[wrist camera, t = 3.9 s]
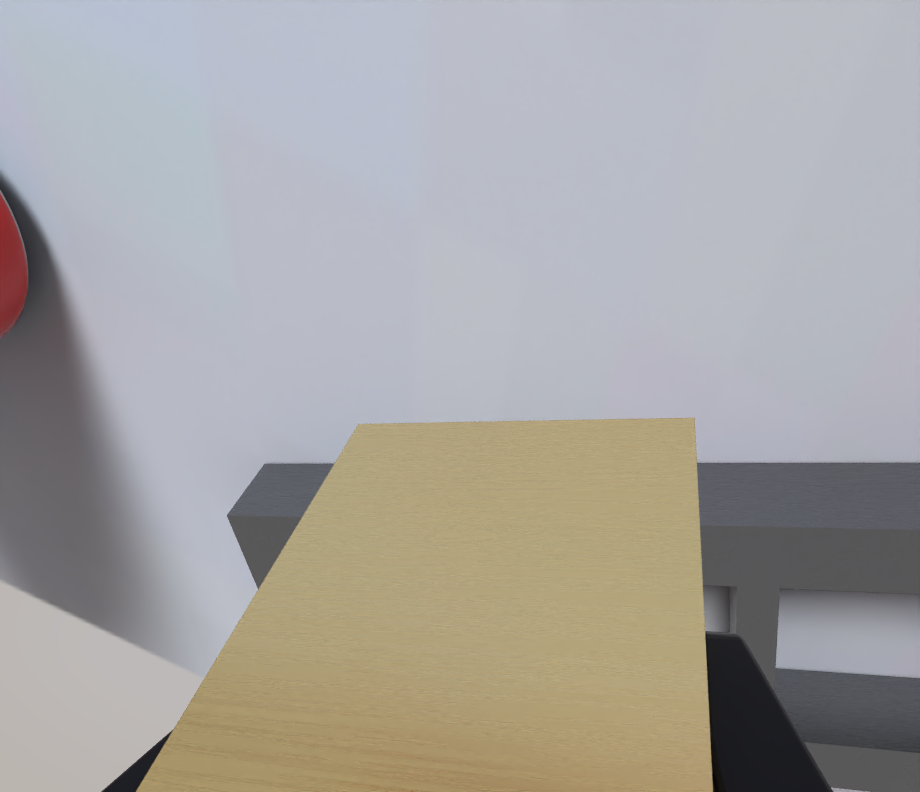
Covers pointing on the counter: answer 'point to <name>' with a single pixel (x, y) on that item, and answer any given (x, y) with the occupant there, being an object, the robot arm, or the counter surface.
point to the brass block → (471, 622)
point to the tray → (752, 585)
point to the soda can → (11, 269)
